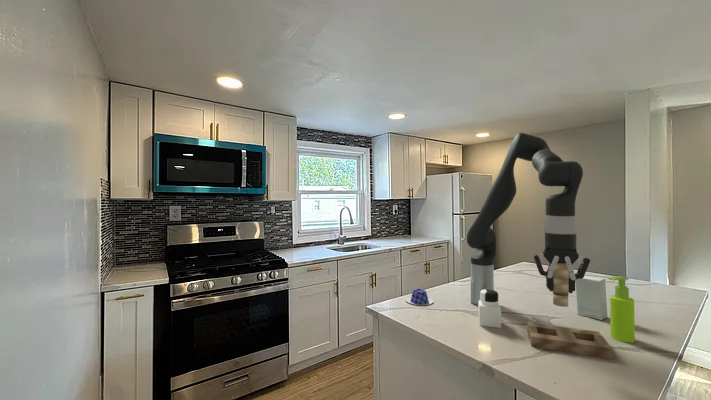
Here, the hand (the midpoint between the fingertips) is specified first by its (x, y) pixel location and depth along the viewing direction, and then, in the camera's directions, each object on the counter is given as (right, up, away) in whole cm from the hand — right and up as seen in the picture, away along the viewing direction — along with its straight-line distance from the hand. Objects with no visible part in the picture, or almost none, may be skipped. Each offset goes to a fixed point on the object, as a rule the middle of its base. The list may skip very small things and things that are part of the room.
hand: (560, 291), depth 87 cm
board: (+7, -19, +9) cm, 22 cm away
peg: (0, -4, 0) cm, 4 cm away
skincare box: (+33, -19, +31) cm, 49 cm away
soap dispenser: (+27, -19, +12) cm, 35 cm away
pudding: (-30, -20, +50) cm, 62 cm away
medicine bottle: (-9, -19, +25) cm, 33 cm away
